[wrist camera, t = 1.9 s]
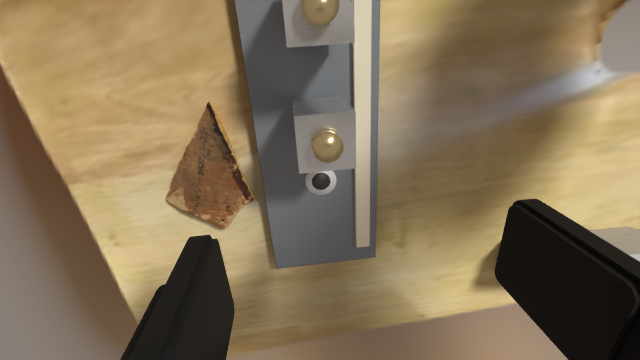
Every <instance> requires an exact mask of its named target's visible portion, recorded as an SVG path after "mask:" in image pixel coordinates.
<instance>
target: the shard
mask: <svg viewBox="0 0 640 360" xmlns="http://www.w3.org/2000/svg"><path fill="white" fill-rule="evenodd" d="M166 199H167V201H169V202H170V203H171V204H173V205H175V206H177V207H178V208H179V209H181V210H183V211H185V212H188V213H190V214H192V215H194V216H198V217H200V218H202V219H204V220H207V221H210V222H212V223H214V224H215V225H217V226H219V227H222V228H228V227H229V225H230V224H231V222H232V220H233V219H234V217H235V216H236V214H237V213H238V212H239V210H240V209H242V208H243V207H244V206H245V205H246V204H247V203H248V202H251V201H253V200H254V199H255V196H254V194H253V192H252V191H251V189H250V187H249V185H248V184H247V181H246V178H245V175H244V174H243V172H242V171H241V169H240V167H239V164H238V162H237V159H236V156H235V153H234V151H233V149H232V146H231V144H230V142H229V139H228V137H227V134H226V132H225V129H224V127H223V125H222V123H221V121H220V120H219V119H218V117H217V114H216V113H215V111H214V110H213V107H212V106H211V104H210V103H209V102H208V103H207V106H206V108H205V110H204V113H203V115H202V117H201V119H200V121H199V124H198V128H197V130H196V132H195V134H194V136H193V138H192V140H191V142H190V143H189V145H188V146H187V148H186V150H185V152H184V155H183V157H182V159H181V160H180V162H179V164H178V167H177V170H176V172H175V174H174V176H173V179H172V181H171V188H170V190H169V192H168V194H167V196H166Z"/></svg>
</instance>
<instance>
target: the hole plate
mask: <svg viewBox="0 0 640 360" xmlns="http://www.w3.org/2000/svg"><path fill="white" fill-rule="evenodd" d="M235 6H236V12H237V19H238V25H239V32H240V38H241V44H242V51H243V57H244V64H245V70H246V77H247V83H248V89H249V96H250V102H251V109H252V115H253V121H254V128H255V134H256V141H257V147H258V153H259V160H260V166H261V173H262V179H263V186H264V192H265V198H266V205H267V211H268V218H269V224H270V230H271V237H272V243H273V250H274V256H275V262H276V269H278V268H287V267H295V266H304V265H312V264H321V263H330V262H338V261H347V260H356V259H364V258H373V257H375V251H376V198H377V145H378V92H379V39H380V0H354V26H355V43H348V44H333V45H319V46H305V47H290V48H287V45H286V35H285V25H284V15H283V5H282V0H235ZM337 96H341V97H342V98H343V99H344V100H345V101H346V102H347V103H348V104H349V105H350V106H351V107H352V108H353V109H354V110H355V111H356V168H355V169H344V170H334V171H323V172H313V173H303V174H299V166H298V156H297V146H296V136H295V126H294V116H293V105H292V100H300V99H312V98H324V97H337Z"/></svg>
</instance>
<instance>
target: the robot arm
mask: <svg viewBox="0 0 640 360" xmlns="http://www.w3.org/2000/svg"><path fill="white" fill-rule="evenodd" d="M495 276H496V279H497V280H498V282H499V283H500V284H501V285H502V286H503V288H504V289H505V290H506V291H507V292H508V293H509V294H510V295H511V296H512V298H513V299H514V300H515V301H516V302H517V303H518V304H519V305H520V306H521V307H522V309H523V310H524V311H525V312H526V313H527V314H528V315H529V316H530V318H531V319H532V320H533V321H534V322H535V323H536V324H537V325H538V326H539V327H540V329H541V330H542V331H543V332H544V333H545V334H546V335H547V336H548V338H550V340H551V341H552V342H553V343H554V344H555V345H556V346H557V348H558V349H559V350H560V351H561V352H562V353H563V354H564V355H565V356H566V357H567V359H568V360H640V261H638V260H636V259H635V258H633V257H631V256H630V255H628V254H626V253H625V252H623V251H622V250H620V249H618V248H617V247H615V246H613V245H612V244H610V243H609V242H607V241H605V240H604V239H602V238H600V237H599V236H597V235H595V234H594V233H592V232H591V231H589V230H587V229H586V228H584V227H582V226H581V225H579V224H577V223H576V222H574V221H573V220H571V219H569V218H568V217H566V216H564V215H563V214H561V213H559V212H558V211H556V210H555V209H553V208H551V207H550V206H548V205H546V204H545V203H543V202H542V201H540V200H538V199H527V200H518V201H515V202H514V203H513V205H512V206H511V207H510V208H509V210H508V214H507V218H506V223H505V227H504V232H503V236H502V241H501V245H500V249H499V254H498V258H497V263H496V267H495ZM233 319H234V303H233V298H232V294H231V290H230V286H229V282H228V278H227V274H226V270H225V266H224V262H223V258H222V254H221V250H220V246H219V242H218V240H217V239H212V237H211V236H210V235H203V236H194V237H189V239H188V240H187V242H186V244H185V246H184V248H183V250H182V252H181V255H180V257H179V259H178V261H177V263H176V265H175V267H174V269H173V271H172V273H171V275H170V277H169V279H168V281H167V283H166V285H162V286H160V287H159V288H158V290H157V291H156V293H155V295H154V297H153V298H152V300H151V302H150V304H149V306H148V308H147V310H146V312H145V314H144V316H143V318H142V319H141V321H140V323H139V325H138V327H137V329H136V331H135V333H134V335H133V337H132V339H131V340H130V342H129V344H128V346H127V348H126V350H125V352H124V354H123V356H122V358H121V360H226V356H227V350H228V345H229V340H230V334H231V329H232V324H233Z"/></svg>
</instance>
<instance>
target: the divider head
mask: <svg viewBox="0 0 640 360" xmlns="http://www.w3.org/2000/svg"><path fill="white" fill-rule="evenodd" d="M292 105H293V116H294V126H295V136H296V146H297V156H298V166H299V174H303V173H313V172H323V171H334V170H344V169H355V168H356V111H355V110H354V109H353V108H352V107H351V106H350V105H349V104H348V103H347V102H346V101H345V100H344V99H343V98H342V97H341V96H337V97H324V98H312V99H300V100H292Z"/></svg>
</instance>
